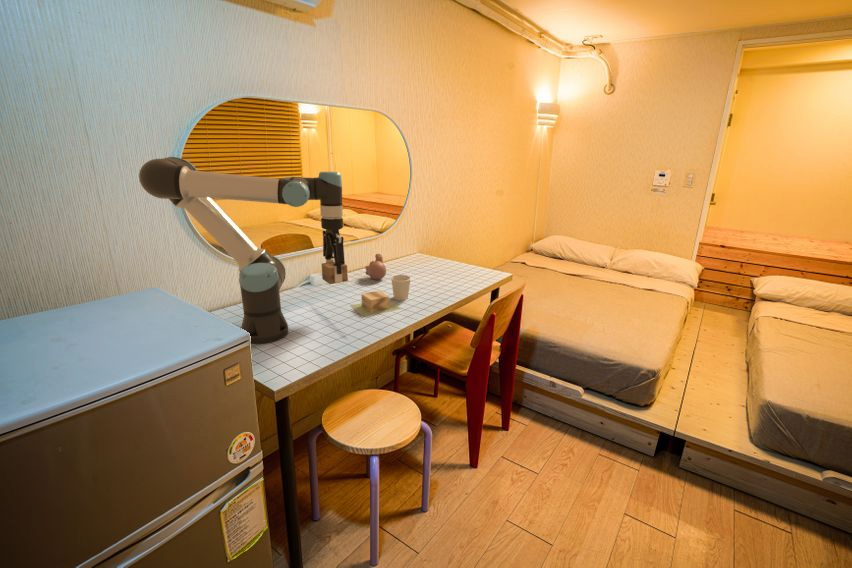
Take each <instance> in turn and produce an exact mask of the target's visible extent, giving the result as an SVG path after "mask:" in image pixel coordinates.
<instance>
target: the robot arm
mask: <svg viewBox="0 0 852 568" xmlns="http://www.w3.org/2000/svg"><path fill="white" fill-rule="evenodd" d="M138 179H139V183H140V185H141V187H142V188H143V189H144V191H145V192H147V193H148V195H150V196H152V197H155V198H156V199H162V200H163V199H164V200H166V199H167V200H168V201H170V202H171V203H172V204H173V205H174V206H175V208H178V209H179V208H180V209H184V210H186V212H188V214H190V216H191V217H192V218H193V219H195V220H196V222H197V223H198V224H199V225H201V227H202V228H203V229H204V230H205V231H206V232H207V233H208V234H209V235H210V236H211V237H212V238H213V239H214V240H215V241H216V243H218V244H219V246H220V247H222V248H223V249H224V250H225V252H226V253H227V254H228V255H229V256H231V258H232V259H233V260H234V261H235V262H236V263H237V264H238V270H237V271H238V272H239V273H238V276H239V278H238V282H239V283H238V284H239V287H240V294H241V301H242V309H243V310H242V311H243V318H242V322H241V326H240V329H241V328H242V329H244V330H246V331H247V332H249V333H250V336H251V343H250V344H255V345H256V344H259V345H260V344H267V343H273V342H276V341H279V340H281V339H283V338H284V337H286V336H287V335H288V334H289V325H288V322H287V320H286V318H285V316H284V313H283V311H282V307H281V306H282V305H281V303H282V302H281V294H280V293H281V292H280V290H281V288H282V285H283V283H284V282H285V281H286V280H285V279H286V273H287V272H286V267H285V264H284V263H283V262H282V260H281V259H279V258H278V257H276V256H273V255H271V253H269V252H268V250H267V249H265V248H261V247H258V246H257V245H256V244H255V243H254V242H253V241H252V240H251V239H250V237H249V236H248V235H247V234H246V233H245V232H244V230H242V229H241V228H240V227H239V226H238V224H237V223H236V222H234V220H233V219H232V218H231V217H230V216H229V215H228V214H227V212H225V210H224V209H223V208H222V207H221V206H220V205H219V204H218V203H217V202H216V201H215V199H220V200H231V201H232V200H233V201H243V202H258V203H269V204H279V205H288V206H290V207H294V208H299V207H302V206H304V205H306V203H308V201H319V202H320V203H319V204H320V205H319V206H320V211H319V212H320V216H321V218H320V222H321V223H320V224H321V225H320V226H321V228H322V229H323V230H322V232H321V233H322V255H323V257H324V258H325V263H329V262H335V264H333V266H334V279H335V283H334V284H339V283H338V282H340V283H343V282H342V265H343V264H345V263H346V262H345V249H344V240H345V239H344V236H341V234H340V230H342V229H343V228H344V218H343V216H344V215H343V213H344V212H343V210H344V207H343V183H342V175H341V173H340V172H338V171H320V172H319V173H318V177H299V176H289V177H288V176H286V177H283V178H274V177H272V178H271V177H261V176H254V175H253V176H252V175H242V174H233V173H232V174H231V173H222V172H221V173H220V172H213V171H212V172H211V171H203V170H198V169H197V168H196V166H194V165H193V163H191V162H190V161H188V160H186V159H184V158H179V157H176V156H169V157H164V158H154V159H150V160H148V161H146V162H145V163H144V164H143V165H142V166H141V167H140V169H139V174H138Z"/></svg>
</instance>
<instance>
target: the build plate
mask: <svg viewBox="0 0 852 568" xmlns="http://www.w3.org/2000/svg"><path fill="white" fill-rule="evenodd" d="M349 307H351V308H352V309H353V310H355V311H356V312H358V313H359V315H361V316H362V317H364V318H365V317H371V316H375V315H379V314H384V313H389V312H393V311H397V310H401V309H402V308H401V307H400V306H398V305H397V304H395V303H394V302H392V301H390V300H389V309H384V310H380V311H375V312H370V311H368V310H367V309H366V308H364V307H363V306H362V302H359V303H356V304H351V305H349Z"/></svg>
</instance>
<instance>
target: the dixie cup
mask: <svg viewBox="0 0 852 568" xmlns="http://www.w3.org/2000/svg"><path fill="white" fill-rule="evenodd" d="M390 280H391V286H392V295H393V299H394V300H397V301H406V300H408V299H409V291H410V285H411V280H412V277H411V276H409V275H406V274H395V275H392V276H391V277H390Z"/></svg>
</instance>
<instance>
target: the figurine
mask: <svg viewBox="0 0 852 568" xmlns="http://www.w3.org/2000/svg"><path fill="white" fill-rule="evenodd" d="M364 269H365V275H366V276H368V277H370V278H371V279H372V280H374V281H379V280H381V279H383V278H384V277H385V276H386V274H387V267H386V266H385V264H384V260H383V256H382V254H381V253H376V254H375V260H371V261H370V262H369V263H368V265H366V266H365V267H364Z"/></svg>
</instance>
